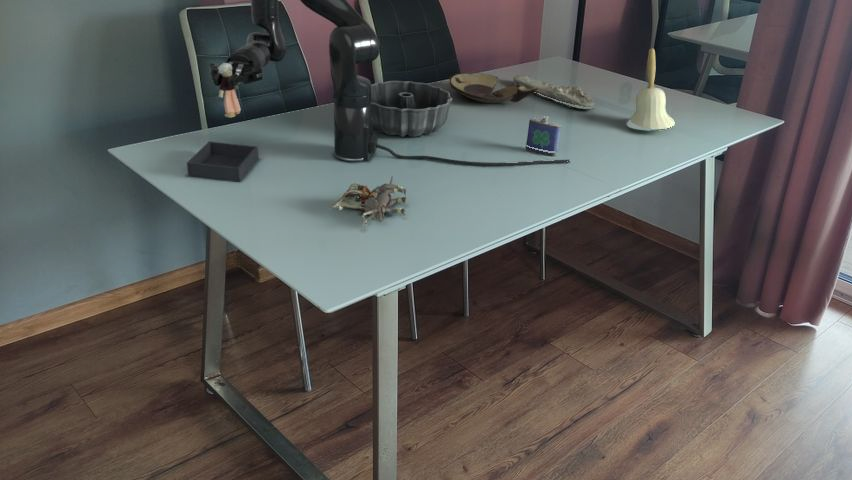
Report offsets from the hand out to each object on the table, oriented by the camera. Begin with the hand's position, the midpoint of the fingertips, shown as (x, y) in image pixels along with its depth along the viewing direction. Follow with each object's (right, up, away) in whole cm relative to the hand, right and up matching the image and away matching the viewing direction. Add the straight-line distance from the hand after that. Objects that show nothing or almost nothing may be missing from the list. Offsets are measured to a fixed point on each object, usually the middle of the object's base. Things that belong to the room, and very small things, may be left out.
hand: (223, 82), depth 182 cm
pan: (-1, -20, +3) cm, 20 cm away
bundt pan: (+39, -3, +39) cm, 55 cm away
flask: (+78, -11, +33) cm, 85 cm away
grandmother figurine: (0, -6, +7) cm, 9 cm away
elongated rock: (+84, +15, +78) cm, 116 cm away
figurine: (+36, -32, -9) cm, 49 cm away
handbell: (+114, +1, +60) cm, 129 cm away
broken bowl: (+63, +12, +68) cm, 93 cm away
